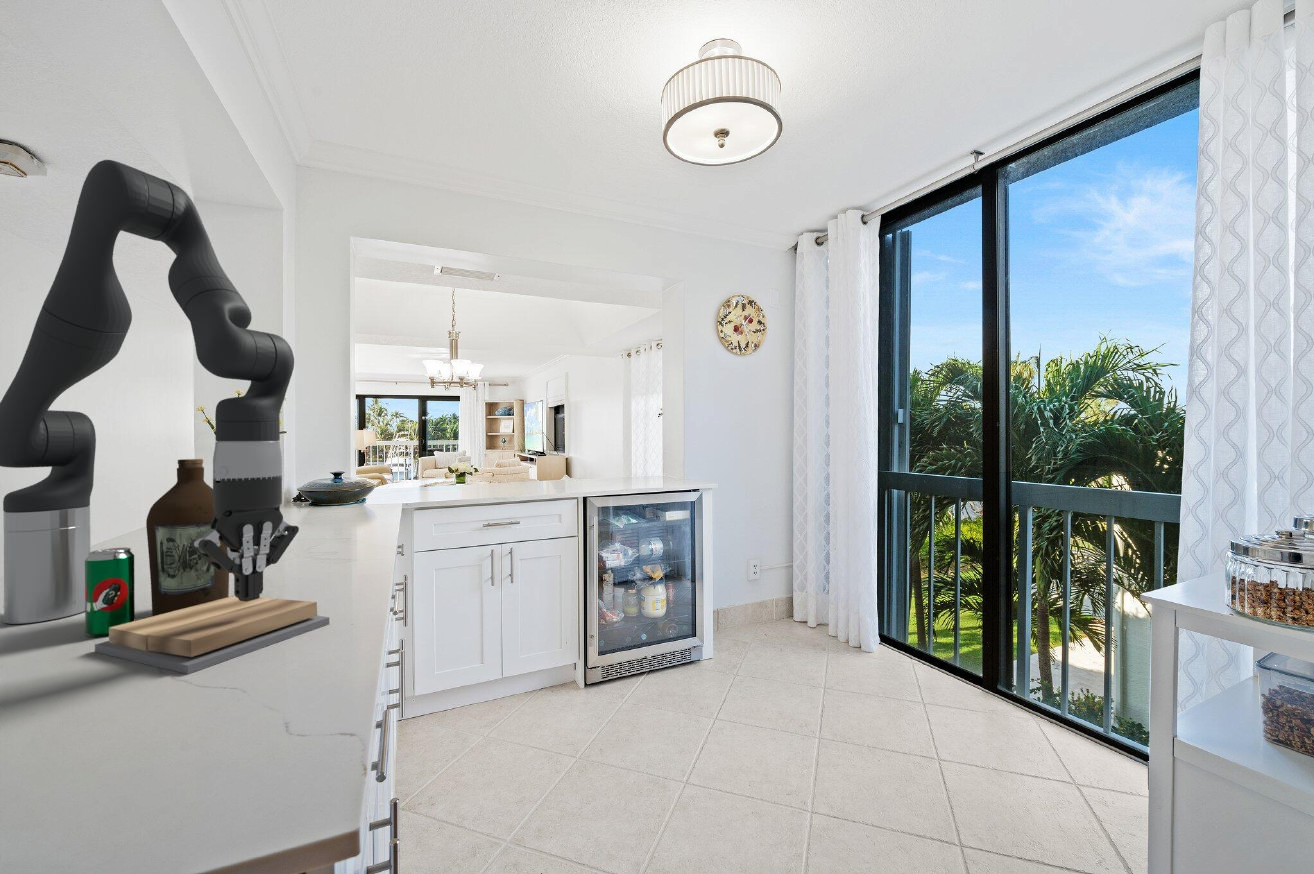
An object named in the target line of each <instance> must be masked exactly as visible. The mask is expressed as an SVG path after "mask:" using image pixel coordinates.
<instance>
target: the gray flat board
mask: <svg viewBox="0 0 1314 874" xmlns="http://www.w3.org/2000/svg"><path fill="white" fill-rule="evenodd" d="M328 625H330V617H329V616H321V615H317V616H314V617H311V618H308V619H305V620H302V621H299V622H296V623H293V624H290V625H287V626H284V627H281V628H278V629H275V630H272V631H269V632H266V633H263V634H260V635H256V636H253V637H250V638H247V639H244V640H241V641H238V642H235V643H232V644H229V645H226V646H223V647H220V648H217V649H214V650H211V651H208V652H205V653H202V654H199V655H196V656H193V657H188V656H182V655H175V654H168V653H162V652H155V651H148V650H147V651H145V650H140V649H136V648H131V647H127V646H122V645H118V644H113V643H109V640H107V641H103V642H98V643H95V644H94V652H95V653H98V654H101V655H106V656H111V657H114V658H118V659H119V658H120V659H122V660H128V661H132V662H135V663H140V664H145V665H148V666H153V667H156V668H161V669H165V670H169V671H174V672H178V673H183V674H186V675H189V674H192V673H195V672H199V671H200V670H204V669H206V668H210V667H212V666H215V665H218V664H221V663H223V662H226V661H230V660H232V659H234V658H237V657H240V656H244V655H245V654H249V653H251V652H255V651H257V650H259V649H263V648H265V647H268V646H271V645H274V644H276V643H280V642H282V641H285V640H288V639H291V638H293V637H296V636H299V635H302V634H305V633H307V632H311V631H313V630H316V629H318V628H322V627H325V626H328Z"/></svg>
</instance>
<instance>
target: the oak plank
mask: <svg viewBox="0 0 1314 874" xmlns="http://www.w3.org/2000/svg"><path fill="white" fill-rule="evenodd" d="M274 599H275V598H269V597H268V598H267V597H262V596H260V597H259V598H258V599H255V600H251V601H247V602H245V601H240V600H239V599H238V598H237V597H235V595H233V596H229V597H227V598H223V599H219V600H215V601H212V602H208V603H204V604H200V605H196V606H192V607H188V608H184V609H180V610H176V611H172V612H168V613H165V614H161V615H157V616H149V617H146V618H141V619H137V620H135V621H133V622H129V623H125V624H121V625H118V626H114V627H110V628H109V636H108V641H109V643H113V644H118V645H122V646H127V647H131V648H136V649H140V650H145V651H147V650H148V637H147V635H148V634H152V633H155V632H159V631H163V630H166V629H170V628H173V627H177V626H181V625H184V624H188V623H191V622H195V621H198V620H202V619H206V618H209V617H213V616H216V615H220V614H224V613H227V612H231V611H234V610H238V609H241V608H245V607H249V606H252V605H256V604H259V603H263V602H267V601H270V600H274Z"/></svg>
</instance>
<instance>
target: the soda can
mask: <svg viewBox="0 0 1314 874" xmlns="http://www.w3.org/2000/svg"><path fill="white" fill-rule="evenodd" d="M131 550H132V548H131V547H112V548H104V549H103V548H102V549H97V550H93V551H90V552H89V556H88V558H87V559H86V560H85V611H84V623H85V624H84V627H85V629H84V631H85V634H86V635H87V636H89V637H91V638H92V637H93V638H100V637H109V628H110V627H114V626H118V625H121V624H125V623H129V622H133V621H136V610H135V609H136V608H135V607H136V604H135V603H136V601H135V599H136V598H135V597H136V594H135V590H136V589H135V582H136V581H135V579H136V578H135V576H136V575H135V554H134V553H133V551H131Z"/></svg>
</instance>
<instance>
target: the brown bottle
mask: <svg viewBox="0 0 1314 874" xmlns="http://www.w3.org/2000/svg"><path fill="white" fill-rule="evenodd" d="M203 464H204V459H203V458H187V459H184V458H181V459H178V460H177V466H178V467H176V479H177V480H176V483H175V484H174V485H172V487H171V488H170V489H168V490H167V491H166V492H165V493H164V494H163V495H161V496H160V498H158V499H157V500H156V501H155V502H154V503H153V504H152V505H151V507H150V508H149V511H148V514H147V517H146V523H145V525H146V527H145V528H146V537H147V538H146V539H147V547H148V548H147V549H148V550H147V551H148V563H149V564H148V565H149V576H150V577H149V578H150V590H151V594H150V595H151V613H152V614H151V615H152V616H151V617H153V616H157V615H161V614H165V613H168V612H172V611H176V610H180V609H184V608H188V607H192V606H196V605H200V604H204V603H208V602H212V601H215V600H219V599H223V598H227V597H230V596H229V594H230V593H229V589H230V586H229V585H230V573H228V572H219V571H218V570H216V569H215V568H214V567H213V566H212V565H211V564H210V563H209V562H208V561H207V560H206V559H204V558H203V557H202V556H201V555H200V554H199V553H198V552H197V551H196V550H195V549H194V548H192V547H191V541H192V540H194V539H200V538H201V537H203V536H204V535H205V534H206V533H207V532H209V531H210V530H211V528H210V525H211V522H212V521H213V519H214V516H215V512H214V509H213V487H211V486H210V485H209V484H207V483H206V482H205V467H204V466H203ZM218 539H219V538H218ZM219 541H220V544H221V545H220V546H219V548H220V549H221V550H222V551H223V552H224V553H225V554H226V555H227V556H228V552H227V546H226V545H225V544H224V543H223V542H222V541H221V540H220V539H219ZM228 557H229V556H228ZM229 558H230V557H229Z"/></svg>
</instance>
